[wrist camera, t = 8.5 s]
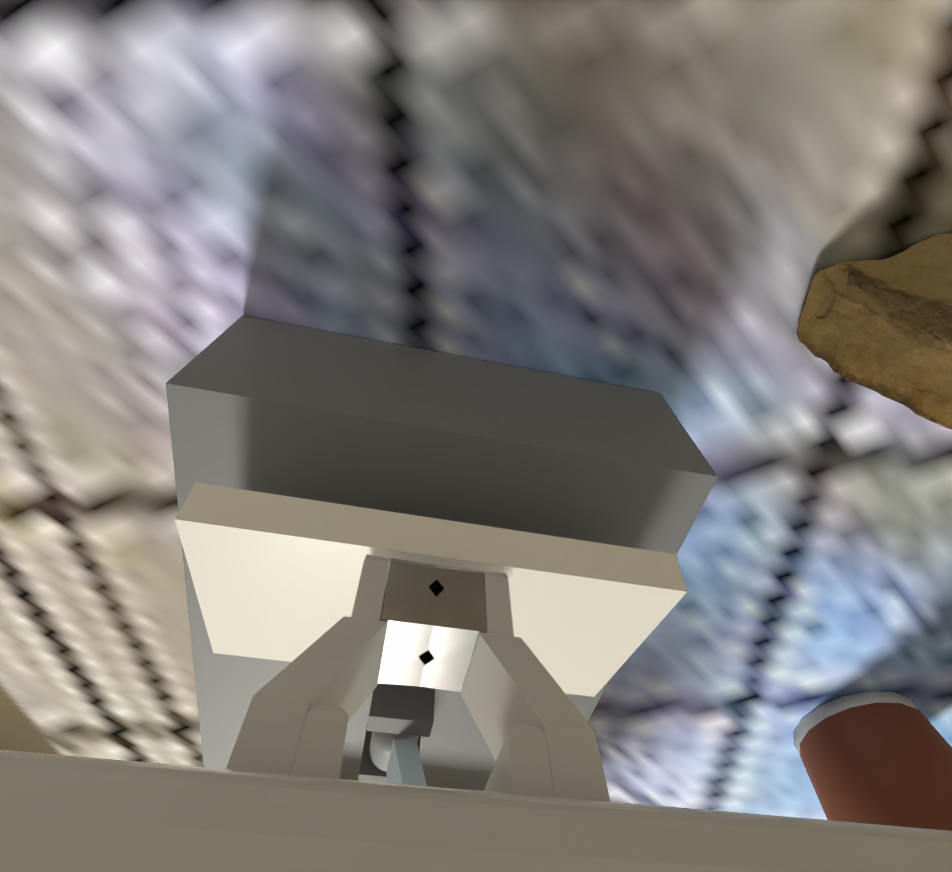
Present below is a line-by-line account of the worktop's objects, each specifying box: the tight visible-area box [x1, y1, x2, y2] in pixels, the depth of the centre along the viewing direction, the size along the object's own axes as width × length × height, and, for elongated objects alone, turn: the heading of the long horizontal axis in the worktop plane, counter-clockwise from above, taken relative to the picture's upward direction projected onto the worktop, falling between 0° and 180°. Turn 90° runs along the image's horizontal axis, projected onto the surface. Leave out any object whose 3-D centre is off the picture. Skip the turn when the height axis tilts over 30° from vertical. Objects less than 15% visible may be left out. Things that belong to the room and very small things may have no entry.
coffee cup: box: [793, 691, 952, 831], centre depth 24 cm, size 9×9×12 cm
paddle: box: [369, 731, 427, 786], centre depth 17 cm, size 2×2×6 cm
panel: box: [166, 316, 718, 791], centre depth 20 cm, size 14×23×7 cm, turn 168°
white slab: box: [175, 483, 687, 697], centre depth 14 cm, size 11×6×1 cm, turn 78°
